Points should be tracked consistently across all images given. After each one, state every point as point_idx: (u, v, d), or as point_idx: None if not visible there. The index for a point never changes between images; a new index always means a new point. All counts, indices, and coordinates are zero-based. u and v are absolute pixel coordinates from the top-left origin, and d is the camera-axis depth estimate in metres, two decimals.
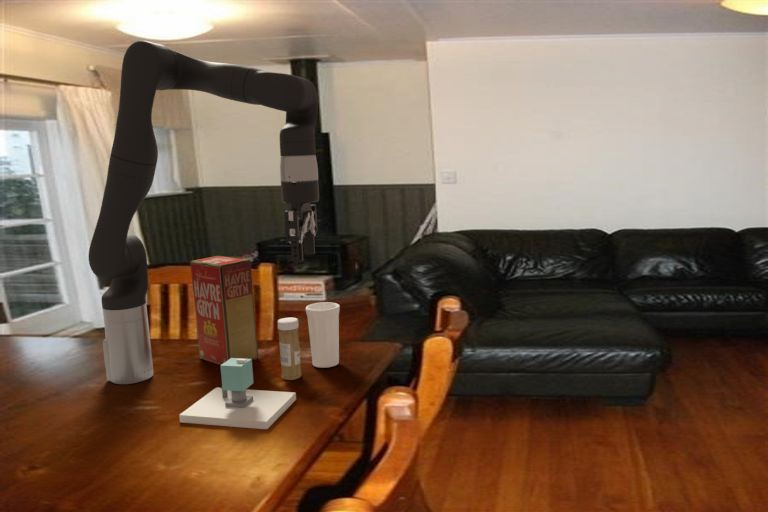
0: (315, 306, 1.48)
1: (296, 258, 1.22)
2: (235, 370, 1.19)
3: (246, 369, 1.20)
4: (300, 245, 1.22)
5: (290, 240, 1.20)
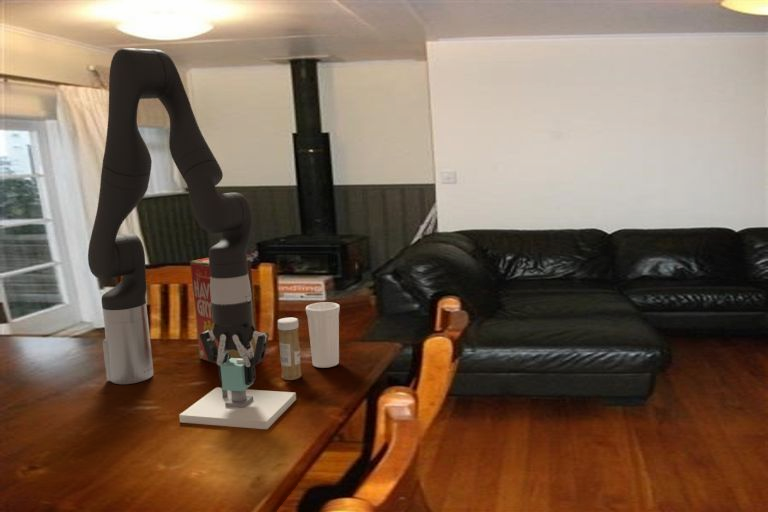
0: (315, 306, 1.48)
1: (254, 379, 1.21)
2: (235, 370, 1.19)
3: None
4: None
5: (259, 361, 1.19)
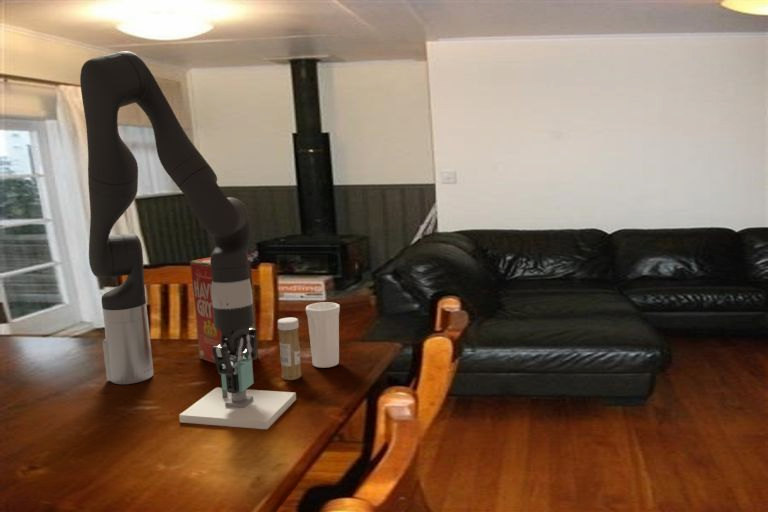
0: (315, 306, 1.48)
1: None
2: (249, 365, 1.21)
3: None
4: None
5: None
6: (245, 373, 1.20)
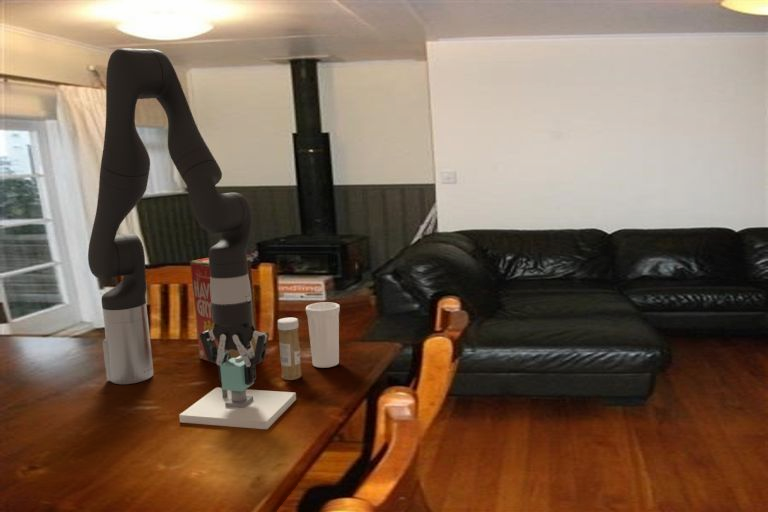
0: (315, 306, 1.48)
1: (254, 379, 1.21)
2: None
3: None
4: None
5: (260, 361, 1.19)
6: None
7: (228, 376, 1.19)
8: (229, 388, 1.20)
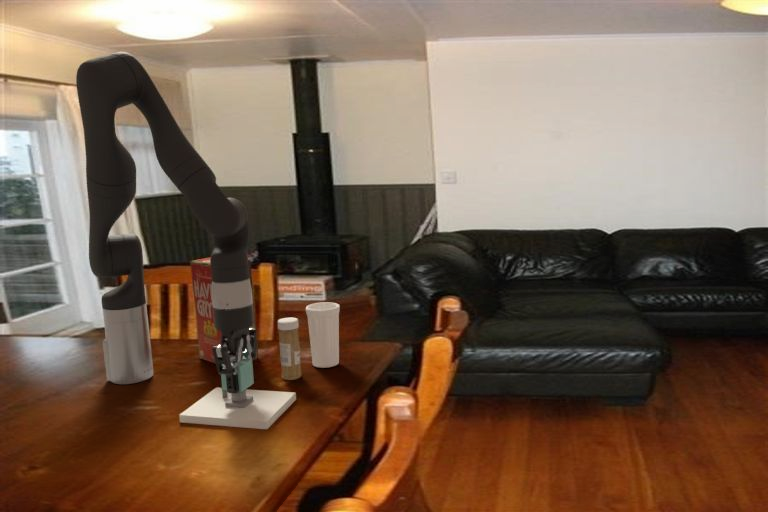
0: (315, 306, 1.48)
1: None
2: None
3: None
4: None
5: None
6: None
7: (245, 374, 1.20)
8: (246, 386, 1.20)
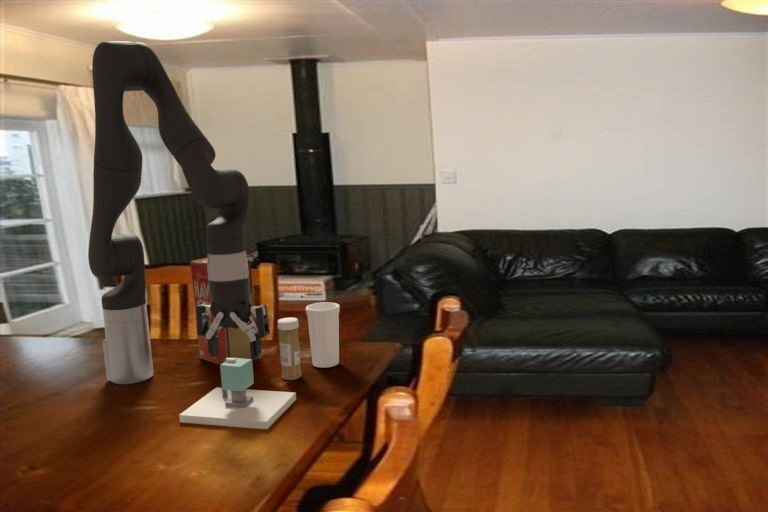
0: (315, 306, 1.48)
1: (259, 354, 1.19)
2: None
3: None
4: None
5: (265, 335, 1.18)
6: None
7: (245, 374, 1.20)
8: (246, 386, 1.20)
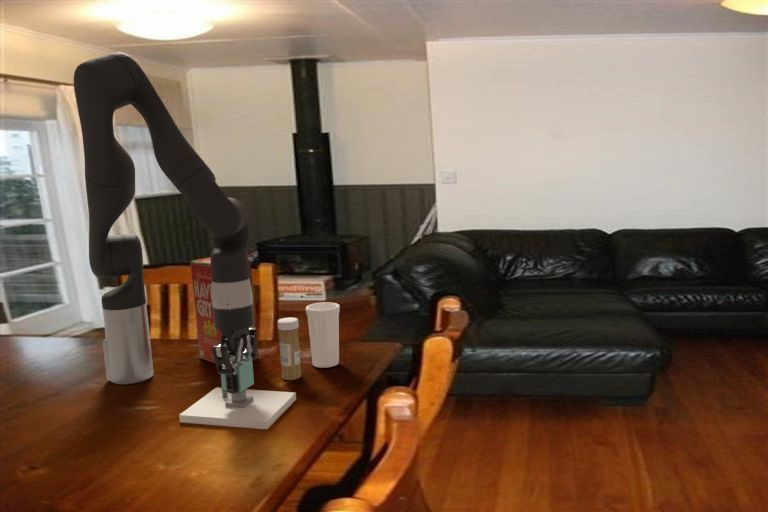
0: (315, 306, 1.48)
1: None
2: None
3: None
4: None
5: None
6: None
7: None
8: None
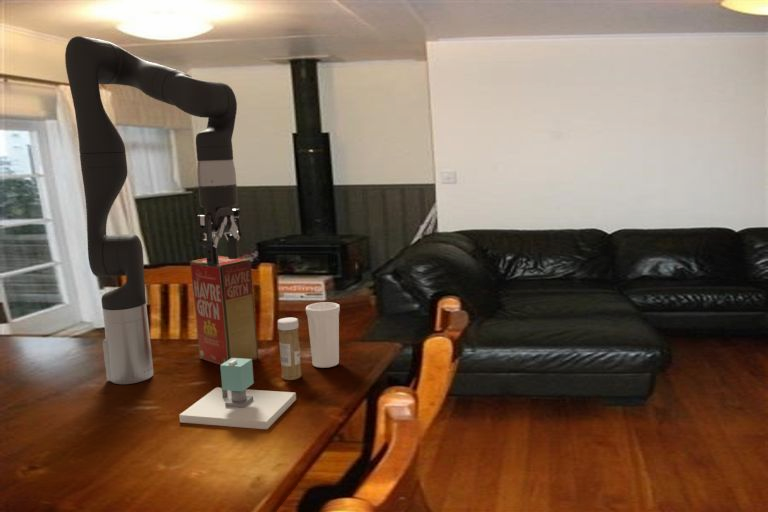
0: (315, 306, 1.48)
1: None
2: None
3: (229, 372, 1.19)
4: None
5: None
6: None
7: None
8: None
